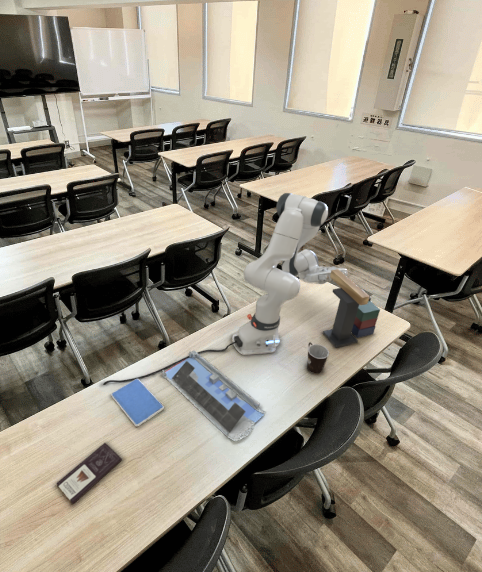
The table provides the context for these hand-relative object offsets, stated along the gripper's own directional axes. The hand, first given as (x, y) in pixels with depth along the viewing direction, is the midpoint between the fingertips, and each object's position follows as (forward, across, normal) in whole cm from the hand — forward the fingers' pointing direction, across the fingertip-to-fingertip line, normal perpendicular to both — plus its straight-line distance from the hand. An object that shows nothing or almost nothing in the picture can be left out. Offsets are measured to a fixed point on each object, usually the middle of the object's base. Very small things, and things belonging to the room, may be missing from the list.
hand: (336, 275), depth 166 cm
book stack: (-8, +13, +28) cm, 32 cm away
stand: (-3, 0, +30) cm, 31 cm away
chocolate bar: (+23, -115, +46) cm, 126 cm away
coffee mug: (+7, -21, +37) cm, 43 cm away
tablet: (+3, -97, +35) cm, 103 cm away
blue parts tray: (+8, -68, +37) cm, 78 cm away
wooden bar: (+7, 0, +6) cm, 10 cm away
